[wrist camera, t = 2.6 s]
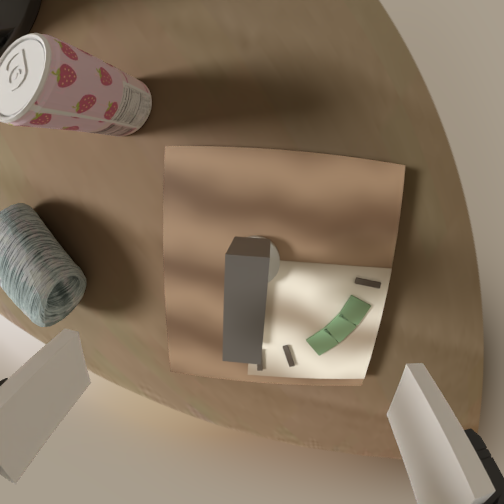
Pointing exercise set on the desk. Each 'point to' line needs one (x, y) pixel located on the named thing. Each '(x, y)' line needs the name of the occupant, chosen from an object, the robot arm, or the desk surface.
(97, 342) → the desk surface
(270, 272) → the grey piece
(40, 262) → the pale teal yarn skein
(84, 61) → the beverage can
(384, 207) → the dial board
